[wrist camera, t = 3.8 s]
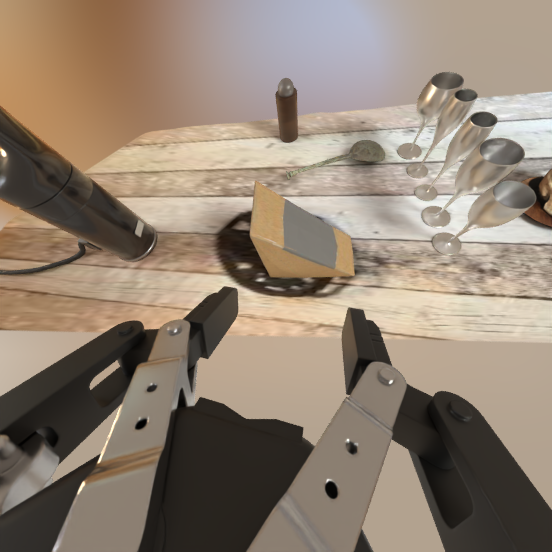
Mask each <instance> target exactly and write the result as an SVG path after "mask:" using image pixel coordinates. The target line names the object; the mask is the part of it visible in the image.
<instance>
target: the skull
mask: <svg viewBox="0 0 552 552" xmlns="http://www.w3.org/2000/svg"><path fill="white" fill-rule="evenodd" d="M521 183H523V184H525V185H527V186H529V187H530V188H531V189H532V190H533V191H534V193H535V195H536V201H535V203H534V204H533V205H532V206H531V207H530V208H529V209H528V210H526V211H525V212H524V213H525V214H526V215H528V216H529V217H531V218H532V219H534V220H536V221H538V222H540V223H541V224H542V223H543V224H545V225H548V226H550V227H552V169H551V170H550V171H549V172H548V173H547V174H546V175H545V177H543V176H542V177H533V178H528V179H526V180H523V181H522V182H521Z"/></svg>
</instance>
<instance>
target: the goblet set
mask: <svg viewBox="0 0 552 552" xmlns="http://www.w3.org/2000/svg"><path fill="white" fill-rule="evenodd" d="M463 82H464V79H463V77H462V76H460V75H459V74H457V73H452V72H442V73H439V74H436V75H435V76H433V77H432V79H431V80H430V81H429V82H428V84H427V85H426V87H425V88H424V89H423V91H422V92H421V94H420V96H419V98H418V101H417V113H418V115H419V117H420V120H421V125H420V129H419V131H418V134H417V136H416V138H415V140H414V142H413V143H406V144H403V145H401V146H400V147H399V148H398V154H399V155H400V156H401V157H402V158H405V159H415V158H417V157H419V156H420V155H421V152H422V151H421V148H420V147H419V146H418V145H416V144H415V142H416V140H417V138H418V136H419V135H420V133H421V132H422V130H423V129H424V128H425V126H426V125H427V124H429V123H430V122H432V121H434V120H436V119H438V121H437V124H436V129H435V136H434V140H433V143H432V145H431V147H430V149H429V151H428V153H427V154H426V156H425V158H424V159H423V161H422V163H421V164H412V165H410V166H409V167H408V168H407V173H408V174H409V175H410V176H411V177H414V178H423V177H425V176H426V175H427V173H428V169H427V168H426V167H425V166H424V165H422V164H423V163H424V161H425V160H426V158H427V157H428V156H429V154H430V153H431V151H432V150H433V149H434V147H435V146H436V145H437V144H438V143H439V142H440V141H441V140H442V139H443V138H445V137H446V136H447V135H448V134H450V133H451V132H452V131H453V130H455V129H456V128H457V127H458V126H459V125H460V124H461V123H462V121H463V120H464V119H465V118H466V116H467V115H468V113H469V112H470V110H471V109H472V107H473V105H474V103H475V101H476V99H477V97H478V94H477V93H476V92H475V91H474V90H471V89H462V86H463ZM497 121H498V120H497V117H496V116H495V115H493V114H492V113H489V112H476V113H474V114H472V115H471V116H470V117H469V118H468V119H467V120H466V122H465V123H464V124H463V125H462V126H461V127H460V129H459V130H458V131H457V132H456V134H455V135H454V137H453V139H452V141H451V142H450V145H449V147H448V150H447V155H446V160H445V163H444V166H443V168H442V170H441V172H440V173H439V175H438V176H437V178H436V179H435V180H434V182H433V183H432V184H431V186H430V185H420V186H418V187H417V188H416V190H415V194H416V196H417V197H418V198H419V199H421V200H425V201H430V200H433V199H435V198H436V197H437V190H436V189H435V188H434V187H433V185H434V183H435V182H436V181H437V180H438V179H439V177H440V176H441V175H442V174H443V173H444V172H445V171H446V170H447V169H448V168H450V167H451V166H452V165H454V164H455V163H457V162H459V161H461V160H462V159H464V158H466V157H467V156H468V157H467V158H466V159H465V161H464V162H463V163H462V165H461V166H460V168H459V170H458V172H457V175H456V179H455V187H456V191H455V194H454V196H453V197H452V198H451V200H450V201H449V202H448V203H447V204H446V205H445V206H444V207H443V208H441V207H437V206H431V207H428V208H426V209H425V210H424V211H423V212H422V219H423V221H424V222H425V223H426V224H428V225H429V226H432V227H437V228H439V227H444V226H446V225H447V224H448V223H449V222H450V215H449V213H448V212H447V211H446V210H445V209H446V208H447V207H448V206H449V205H450V204H451V203H452V202H454V201H455V200H456V199H457V198H459V197H461V196H463V195H467V194H472V193H477V192H480V191H483V190H486V189H488V188H490V187H491V188H490V189H488V190H487V191H485V192H484V193H483V194H482V195H480V196H479V197H478V198H477V199H476V201H475V202H474V203H473V204H472V206H471V208H470V210H469V213H468V223H467V225H466V226H465V227H464V228H463V229H462V230H461V231H460V232H459V233H458V234H457V235H455V236H454V235H452V234H450V233H439V234H437V235H436V236H435V237H434V238H433V241H432V243H433V246H434V248H435V249H436V250H437V251H438V252H440V253H442V254H445V255H453V254H456V253H458V252H459V251H460V249H461V242H460V240H459V239H458V238H457V237H459V236H460V235H462V234H463V233H465V232H467V231H469V230H472V229H475V228H491V227H496V226H499V225H502V224H505V223H507V222H509V221H511V220H513V219H515V218H517V217H518V216H520V215H521V214H523V213H524V212H525V211H526V210H528V209H529V208H530V207H531V206H532V205H533V204H534V203H535V201H536V195H535V193H534V191H533V190H532V189H531V188H530V187H529V186H527V185H525V184H523V183H521V182H517V181H502V182H500V181H501V180H503V179H504V178H505V177H506V176H508V175H509V174H510V173H511V172H512V171H513V170H514V169H515V168H516V167H517V166H518V164H519V163H520V162H521V161H522V160H523V158H524V156H525V152H524V149H523V148H522V147H521V146H520V145H519V144H518V143H516V142H514V141H512V140H509V139H505V138H492V139H488V140H486V141H485V139H486V138H487V137H488V136H489V134H490V133H491V131H492V130H493V128H494V127H495V125H496V123H497ZM498 182H499V183H498ZM497 183H498V184H497ZM495 184H496V185H495ZM493 185H494V186H493ZM492 186H493V187H492Z"/></svg>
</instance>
